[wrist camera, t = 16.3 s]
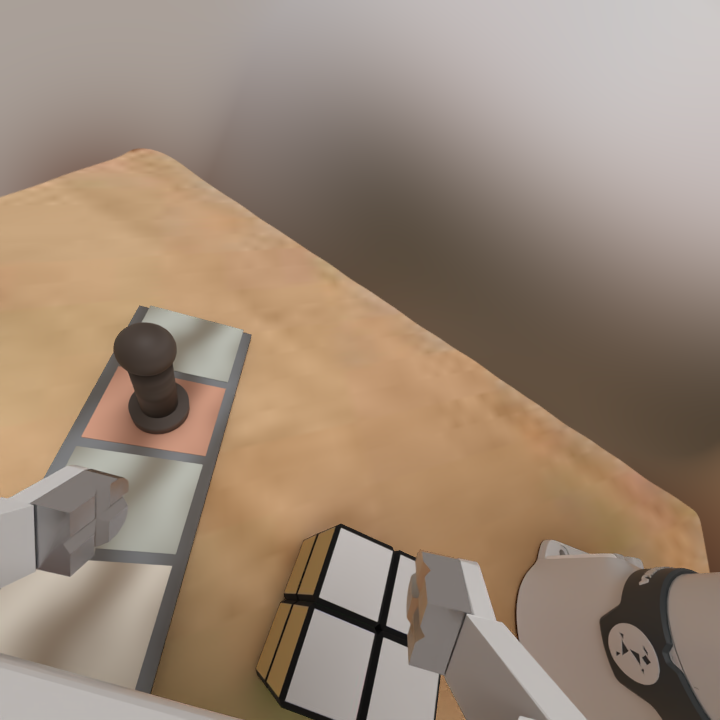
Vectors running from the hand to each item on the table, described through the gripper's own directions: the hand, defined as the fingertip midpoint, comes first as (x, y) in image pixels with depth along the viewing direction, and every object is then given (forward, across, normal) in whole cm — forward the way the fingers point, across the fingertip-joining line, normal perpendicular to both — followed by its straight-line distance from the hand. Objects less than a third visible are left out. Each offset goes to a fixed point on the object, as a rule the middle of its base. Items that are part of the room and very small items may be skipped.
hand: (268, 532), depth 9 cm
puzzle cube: (+16, -3, +22) cm, 28 cm away
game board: (+18, +17, +13) cm, 28 cm away
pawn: (+21, +17, +9) cm, 28 cm away
